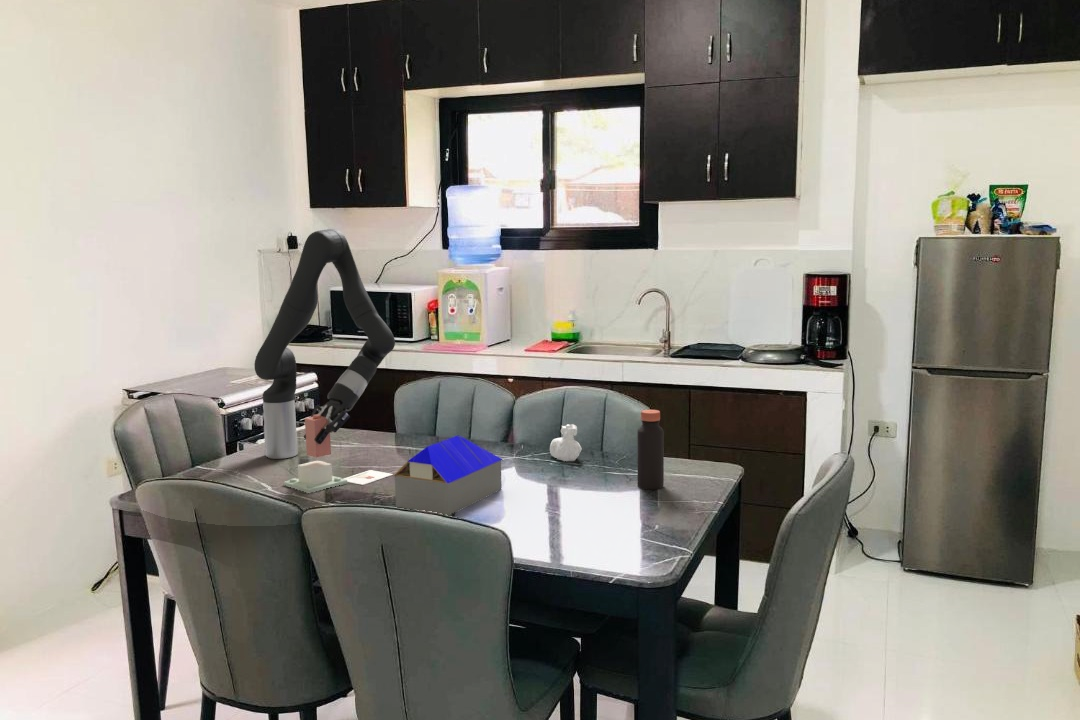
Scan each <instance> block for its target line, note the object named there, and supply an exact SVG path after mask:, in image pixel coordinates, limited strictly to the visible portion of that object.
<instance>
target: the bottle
mask: <svg viewBox="0 0 1080 720" xmlns="http://www.w3.org/2000/svg"><path fill="white" fill-rule="evenodd" d="M640 420H641V423H642V424H641V425H640V427H639V428H638V429H637V436H636V439H637V440H636V441H637V452H636V453H637V487H638V488H640V489H642V490H648V491H649V490H651V491H652V490H653V491H654V490H660V489H662V488H663V487H664V482H665V481H664V479H665V478H664V474H665V472H664V469H665V461H664V459H665V457H664V456H665V455H664V454H665V453H664V452H665V450H664V448H665V445H664V443H665V442H664V441H665V440H664V437H665V436H664V434H665V433H664V429H663V428H662V427H661V426H660V422H661V421H660V420H661V411H660V410H658V409H643V410H641V411H640Z"/></svg>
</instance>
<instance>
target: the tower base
mask: <svg viewBox="0 0 1080 720" xmlns="http://www.w3.org/2000/svg"><path fill="white" fill-rule="evenodd" d="M332 468H333V465H332V463H329V462H325V461H322V460H314V461H310V462H304V463H302V464H301V463H300V464H297V474H298V475H297V476H298V477H297V478H295V477H293V478H289V480H286V481H283V486H285V485H286V486H285V487H289V488H290V487H291V489H293V488H295V489H294V490H296V489H298V490H297V491H299V490H301V491H300V492H302V491H304V492H303V493H305V492H307V493H306V494H308V493H309V494H311V493H310V492H313V493H315V492H314V491H317V492H320V491H319V490H321V491H324V490H323V489H325V490H327V489H326V488H329V489H331V488H330V487H332V488H336V487H339V485H340V486H344V485H348V482H347V480H345V479H344V478H342V477H341V476H340V477H339V476H335V475H333V469H332ZM335 486H336V487H335Z"/></svg>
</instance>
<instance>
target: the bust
mask: <svg viewBox="0 0 1080 720" xmlns="http://www.w3.org/2000/svg"><path fill="white" fill-rule="evenodd" d="M560 433H561V434H562V437H557V438H553V439H552V441H551V443H550V445H549V453H550V455H551V456H552V457H553V458H554V459H555V458H557V459H556V460H560V461H563V462H565V461H566V462H575V461H576V459H577V458H578V457H579V456H580V453H581V451H582V449H583V448H582V446H581V445H580V443H579V442H578V441H577V440H575V438H574V436H577V433H578V426H577V425H575V424H574V423H572V424H568V423H567V424H566V425H561V429H560Z"/></svg>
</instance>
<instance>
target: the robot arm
mask: <svg viewBox="0 0 1080 720" xmlns="http://www.w3.org/2000/svg"><path fill="white" fill-rule="evenodd" d="M301 251H302V252H301V255H300V258H299V261H298V265H297V267H296V271H295V273H294V276H293V278H292V280H291V282H290V285H289V287H288V289H287V292H286V293H285V295H284V299H283V301H282V303H281V305H280V307H279V308H280V309H279V311H278V313H277V316H276V318H275V320H274V322H273V324H272V326H271V328H270V330H269V333H268V334H267V336H266V338H265V340H264V341H263V343H262V345H261V347H260V348H259V350H258V352H257V354H256V356H255V360H254V364H253V365H254V371H255V374H256V376H257V377H258V378H260V379H261V380H264V381H265V380H266V381H271V380H273V381H272V383H271V385H270V386H269V387H268V388H267V389H265V390H264V391H263V393H262V405H263V406H262V407H263V420H264V423H263V424H264V425H263V437H264V452H265V456H266V458H267V457H268V459H275V460H277V459H280V460H281V459H282V460H283V459H287V458H288V459H289V458H293V457H295V456H297V455H298V436H297V421H296V420H297V419H296V406H295V405H296V403H295V395H296V391H297V362H296V357H295V354H294V352H293V351H292V350H291V349H290V348H289V347H288V345H290V343H291V342H292V341H293V340H294V339H295V338H296V337H297V336H298V335H299V334H300V333H302V331H304V330H305V328H306V327H307V326H308V325H309V323H310V321H311V319H312V318H313V316H314V313H315V312H316V308H317V306H318V302H319V295H318V281H319V278H320V276H321V274H322V272H323V269H324V268H325V267H326V265H327V264H329V263H331V264H333V266H334V268H335V269H336V270H337V273H338V275H339V277H340V280H341V281H340V282H341V285H342V296H343V301H344V305H345V307H346V309H347V311H348V313H349V315H350V317H351V319H352V320H353V323H354V324H355V326H356V327H357V328H358V329H361V330H362V331H363V332H364V334H365V335H366V337H367V339H366V341H365V343H364V344H363V346H362V347H361V348H360V350H359V352H358V354H357V356H355V358H354V359H353V360H352V361H351V363H350V364H349V366H348V367H347V369H346V370H345V371H344V372H343V373H342V374H341V375H340V376H339V378H338V379H337V381H336V382H335V383H334V385H332V388H331V389H330V390H329V392H328V393H327V395H326V397H327V402H325V403H324V404H323V405H322V406H320V405H319V404H317V405H315V406H314V409H313V411H312V413H311V415H310V417H313V415H316V414H320V415H321V416H323V417H326V418H327V419H326V423H325V424H324V426H323V429H321V430H320V432H319V433H318V435H317V436H316V438H315V439H314V440H315V441H316V442H317V443H318V444H321V443H322V442H323V441H324V439H325V438H326V437H327V435H328V434H330V435H331V433H336V432H338V431H339V430H340V429H341V428H342V426H343V425H344V424H346V422H347V421H348V420H349V419H350V417H351V416H350V415H349V414H348V412H350V411H351V410H352V409H353V408H354V406H355V404H356V403H357V402H358V400H359V399H360V397H361V396H362V395H363V393H364V392H365V389H366V388H367V387H368V384H369V383H370V381H371V380H372V379H373V377H374V375H375V374H376V372H377V369H378V367H379V366H380V364H382V362H383V361H384V359H385V358H386V356H387V355H388V354H389V353H391V352H392V351H393V350H394V348H395V345H396V338H395V336H394V334H393V332H392V330H391V328H390V327H389V326H388V325H387V323H386V322H385V321H384V320H383V318H382V317H381V316H380V315H379V312H378V311H377V308H376V307H375V305H374V303H373V301H372V299H371V297H370V296H369V294H368V292H367V289H366V288H365V286H364V284H363V280H362V278H361V276H360V273H359V270H358V268H357V265H356V262H355V259H354V256H353V253H352V251H351V248H350V245H349V242H348V240H347V238H346V236H345V234H343V232H342V231H340V230H338V229H335V228H330V229H329V228H327V229H322V230H316V231H314V232H311V233H310V234H309V235H308V237H307V238H306V240H305V242H304V244H303V249H302V250H301ZM303 439H305V440H306V433H304V435H303Z"/></svg>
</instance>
